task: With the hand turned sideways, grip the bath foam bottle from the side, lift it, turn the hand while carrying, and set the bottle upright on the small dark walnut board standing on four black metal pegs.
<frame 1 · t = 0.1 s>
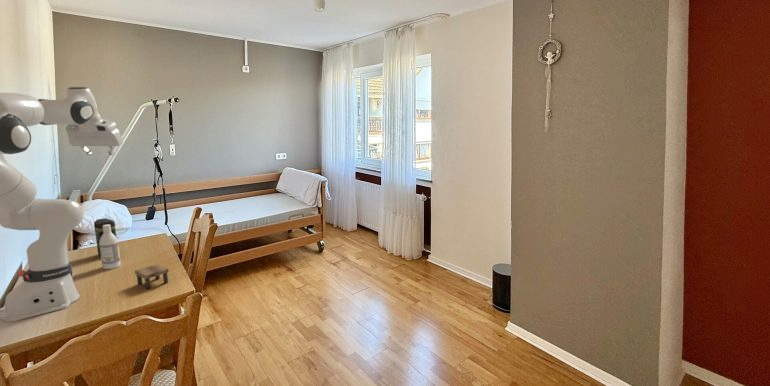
hand: (100, 154, 170), 52 cm above the table, tool tilted 20°, fingers open, 8 cm apart
peg shelf: (153, 283, 160), on the table
bath foam: (111, 267, 178), on the table
coffee jar: (108, 255, 194), on the table
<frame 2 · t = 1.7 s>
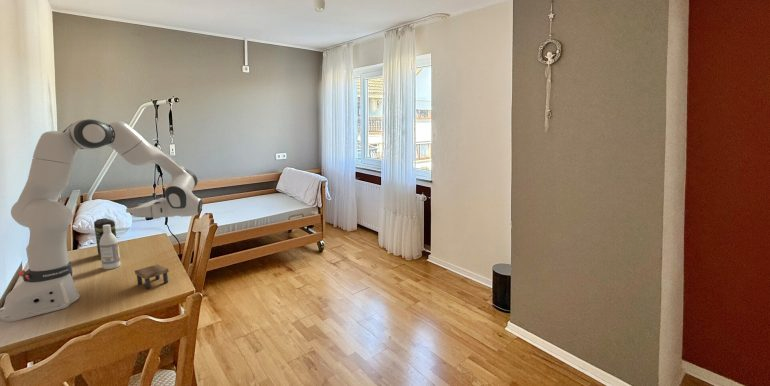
hand: (132, 207, 174), 28 cm above the table, tool horizontal, fingers open, 8 cm apart
nothing on the table moved.
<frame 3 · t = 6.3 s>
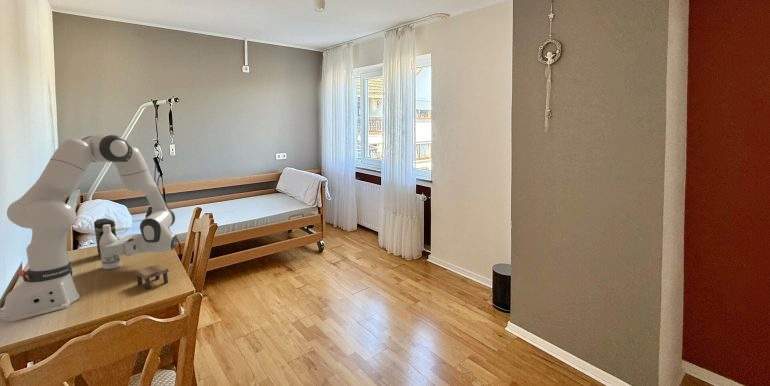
hand: (106, 244, 176), 11 cm above the table, tool horizontal, fingers closed on bath foam, 7 cm apart
bath foam: (111, 267, 178), on the table, touching gripper
everything else where it was.
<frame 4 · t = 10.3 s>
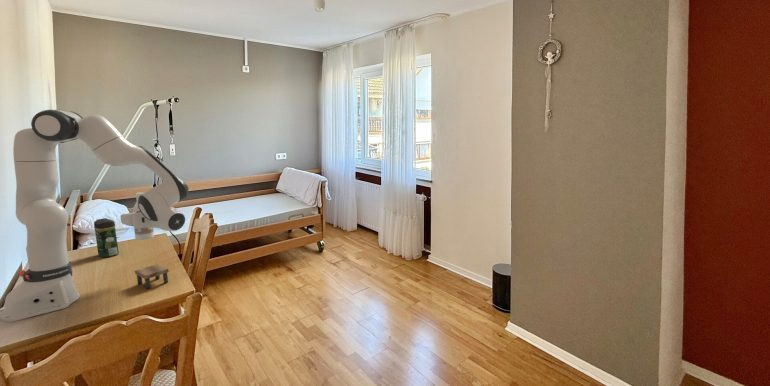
hand: (141, 212, 165), 28 cm above the table, tool horizontal, fingers closed on bath foam, 7 cm apart
bath foam: (144, 238, 167), point 16 cm above the table, touching gripper
everything else where it was.
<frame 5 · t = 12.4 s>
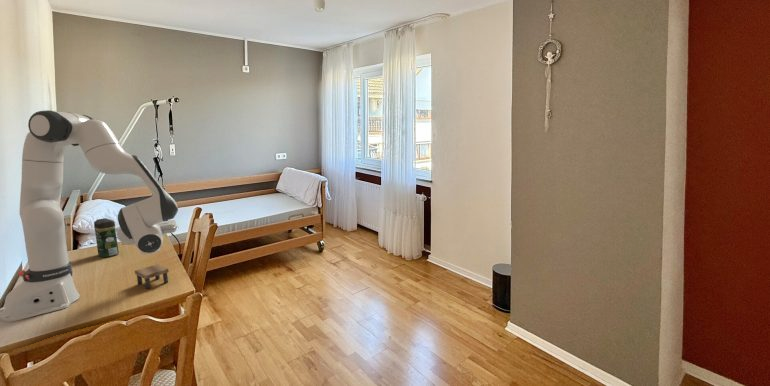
hand: (146, 224, 156), 25 cm above the table, tool horizontal, fingers closed on bath foam, 7 cm apart
bath foam: (150, 252, 158), point 14 cm above the table, touching gripper
everything else where it was.
when the fingers open (18 cm above the table, at t = 14.4 s): bath foam stays where it is, resting on peg shelf.
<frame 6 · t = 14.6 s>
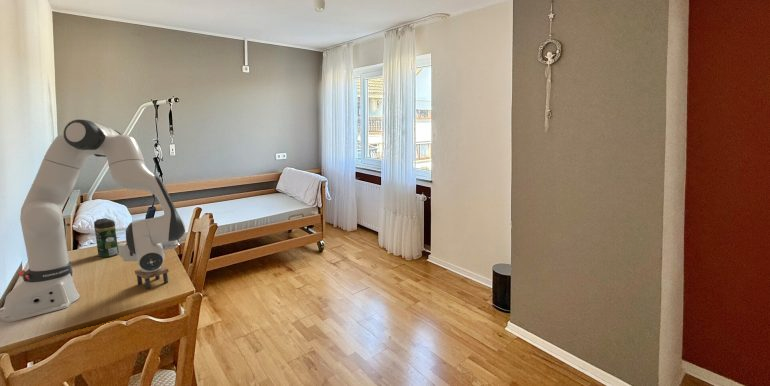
hand: (148, 240, 158), 18 cm above the table, tool horizontal, fingers open, 8 cm apart
bath foam: (151, 270, 159), point 6 cm above the table, touching peg shelf
everything else where it was.
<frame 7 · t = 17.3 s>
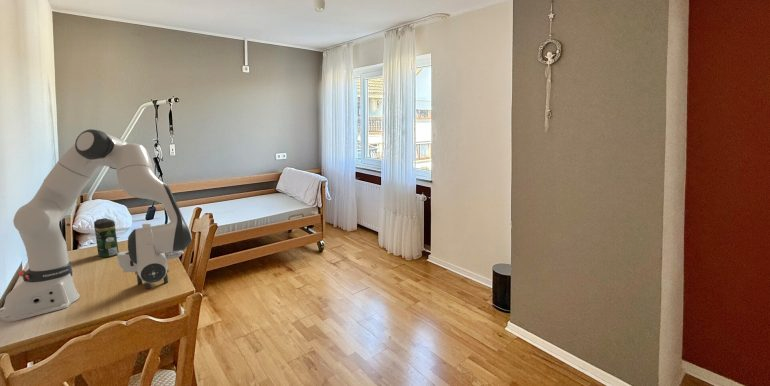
hand: (149, 248, 147), 19 cm above the table, tool horizontal, fingers open, 8 cm apart
nothing on the table moved.
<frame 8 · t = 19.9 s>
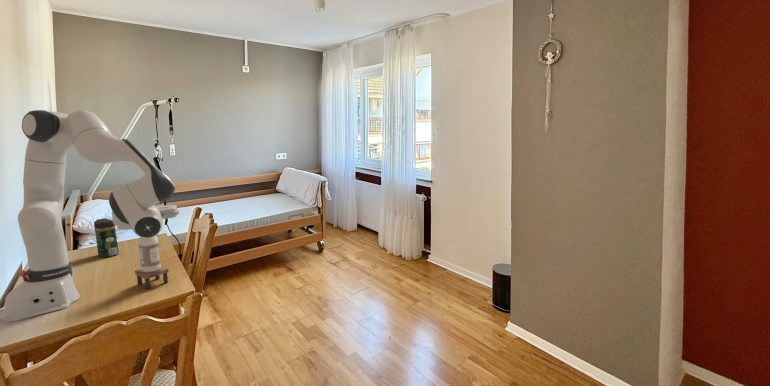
hand: (145, 209, 144), 34 cm above the table, tool horizontal, fingers open, 8 cm apart
nothing on the table moved.
at the end: bath foam inside the target area on the peg shelf (0.1 cm from its centre), point 5.8 cm above the peg shelf's base; bath foam tilted 0°; the gripper is holding nothing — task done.
